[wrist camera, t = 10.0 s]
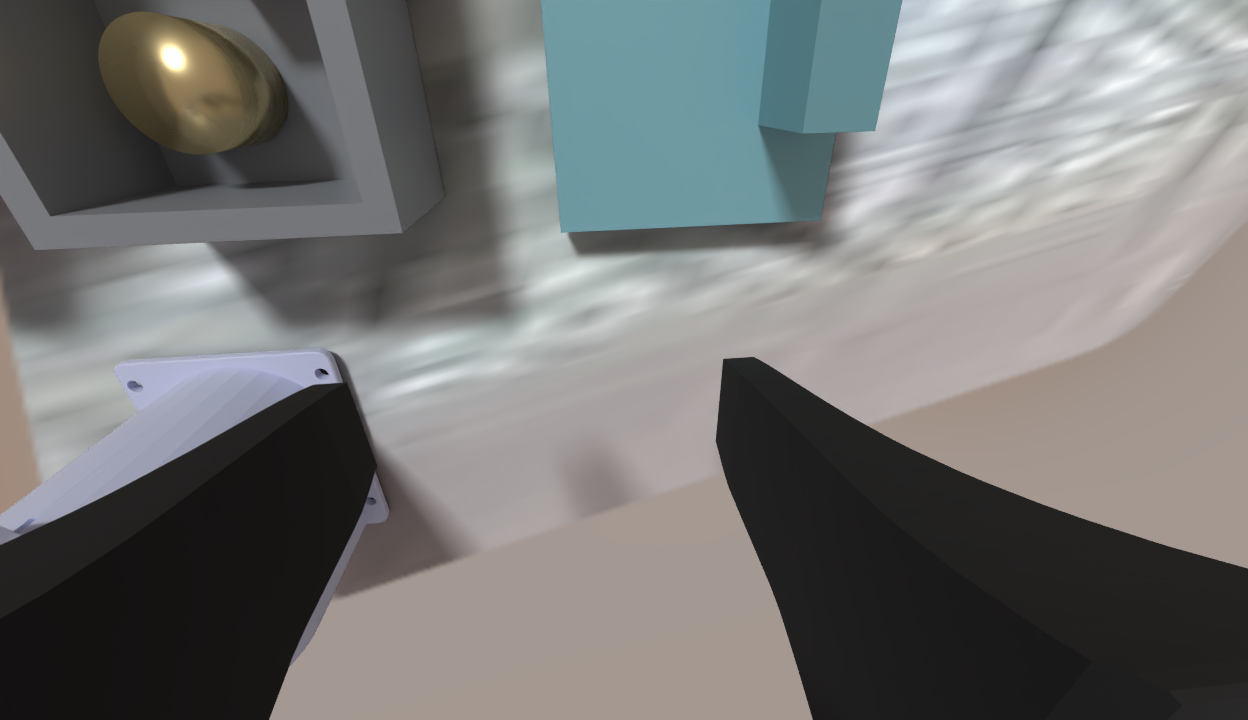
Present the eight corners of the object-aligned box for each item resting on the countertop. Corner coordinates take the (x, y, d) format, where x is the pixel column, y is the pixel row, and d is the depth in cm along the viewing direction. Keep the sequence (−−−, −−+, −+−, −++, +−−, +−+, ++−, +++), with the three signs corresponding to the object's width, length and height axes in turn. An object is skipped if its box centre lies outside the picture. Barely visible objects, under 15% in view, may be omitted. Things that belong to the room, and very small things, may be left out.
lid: (802, 210, 19) (872, 247, 15) (561, 221, 18) (558, 263, 14) (866, -211, 13) (1013, -358, 9) (524, -217, 13) (499, -380, 8)
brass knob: (303, 144, 15) (262, 152, 13) (197, 147, 15) (138, 156, 13) (265, 22, 14) (211, 10, 12) (146, 24, 14) (70, 12, 12)
